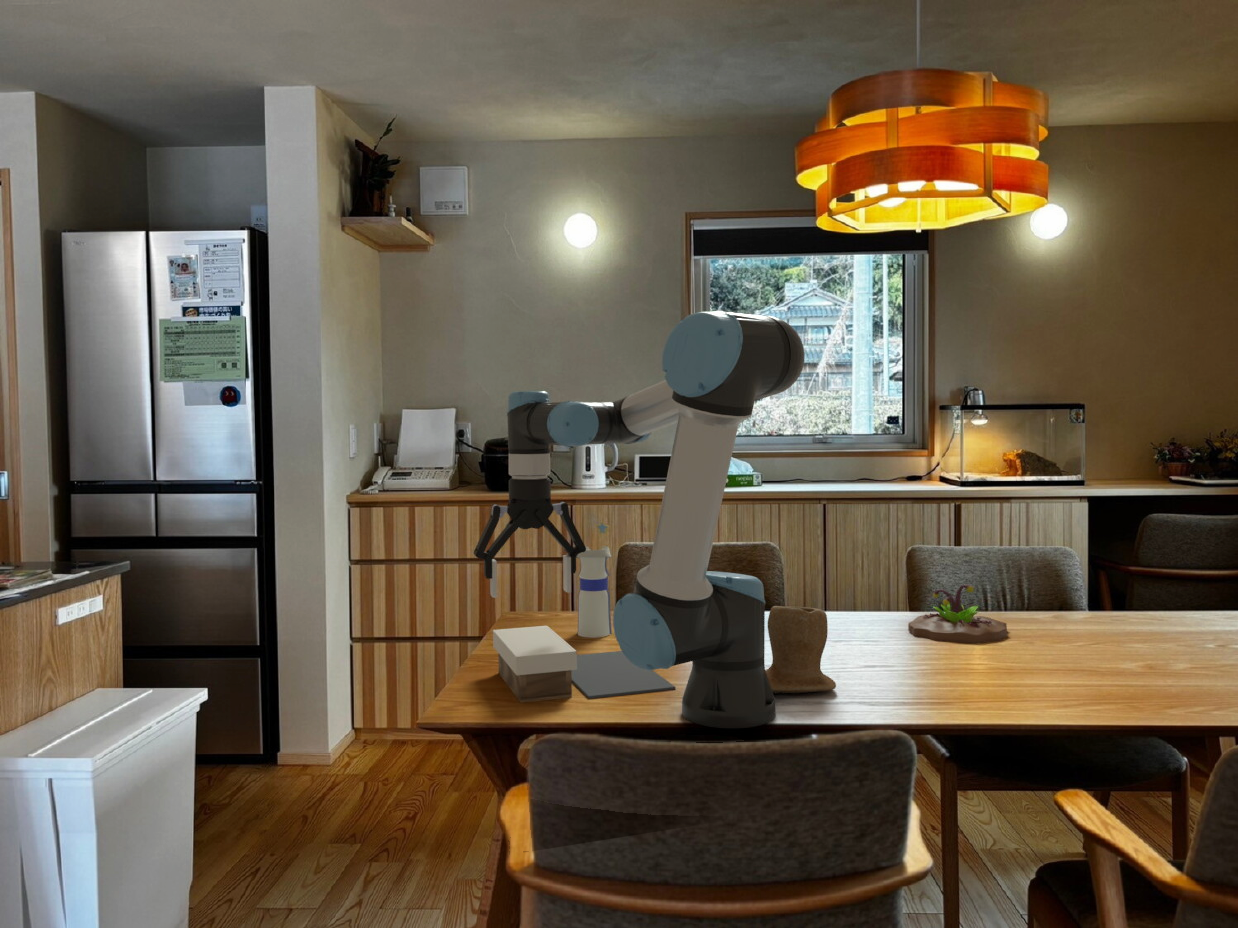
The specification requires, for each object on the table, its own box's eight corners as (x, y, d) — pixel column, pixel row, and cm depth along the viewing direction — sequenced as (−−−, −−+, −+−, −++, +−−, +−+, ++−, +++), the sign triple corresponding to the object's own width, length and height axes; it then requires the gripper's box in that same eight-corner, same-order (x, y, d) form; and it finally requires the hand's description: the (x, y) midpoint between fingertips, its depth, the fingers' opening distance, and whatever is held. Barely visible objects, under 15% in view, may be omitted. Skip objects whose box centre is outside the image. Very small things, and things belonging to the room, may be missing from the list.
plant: (990, 649, 196) (990, 595, 196) (898, 637, 208) (898, 586, 207) (1017, 631, 212) (1017, 581, 211) (930, 620, 224) (930, 573, 223)
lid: (577, 669, 165) (576, 651, 165) (516, 675, 161) (516, 656, 161) (547, 641, 185) (547, 625, 185) (493, 646, 182) (492, 629, 182)
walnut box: (571, 697, 165) (571, 657, 165) (520, 702, 163) (520, 662, 162) (544, 668, 184) (544, 632, 184) (498, 673, 182) (497, 636, 181)
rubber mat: (675, 689, 169) (675, 686, 169) (588, 698, 164) (588, 696, 164) (625, 652, 196) (625, 650, 196) (549, 659, 191) (549, 657, 191)
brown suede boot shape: (823, 679, 175) (823, 598, 174) (842, 698, 163) (842, 611, 162) (741, 681, 174) (741, 599, 173) (754, 700, 162) (753, 613, 161)
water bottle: (577, 629, 218) (575, 520, 217) (614, 629, 217) (612, 520, 216) (572, 637, 210) (570, 524, 209) (610, 637, 209) (609, 524, 208)
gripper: (590, 473, 179) (591, 585, 180) (457, 477, 171) (458, 594, 173) (602, 476, 172) (602, 592, 173) (463, 480, 164) (465, 602, 166)
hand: (530, 594), depth 173 cm, fingers open, 13 cm apart
